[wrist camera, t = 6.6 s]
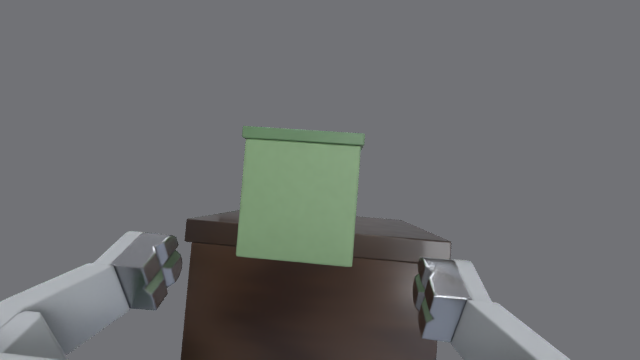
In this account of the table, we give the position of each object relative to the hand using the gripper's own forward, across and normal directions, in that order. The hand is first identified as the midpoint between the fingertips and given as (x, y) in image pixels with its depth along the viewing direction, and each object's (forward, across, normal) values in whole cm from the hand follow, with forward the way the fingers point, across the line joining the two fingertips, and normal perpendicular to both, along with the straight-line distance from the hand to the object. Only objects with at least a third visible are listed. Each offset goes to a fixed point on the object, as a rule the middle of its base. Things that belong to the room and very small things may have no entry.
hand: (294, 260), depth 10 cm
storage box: (+10, 0, +6) cm, 12 cm away
